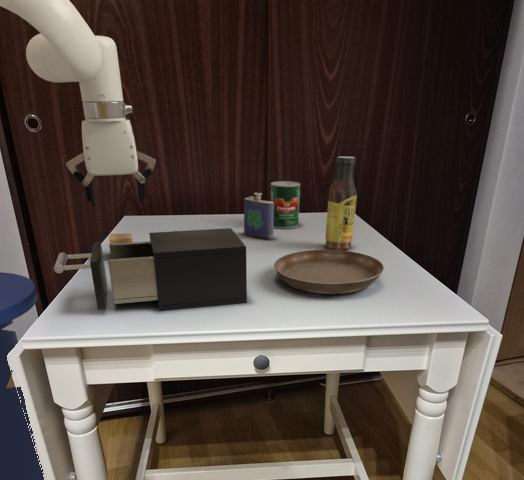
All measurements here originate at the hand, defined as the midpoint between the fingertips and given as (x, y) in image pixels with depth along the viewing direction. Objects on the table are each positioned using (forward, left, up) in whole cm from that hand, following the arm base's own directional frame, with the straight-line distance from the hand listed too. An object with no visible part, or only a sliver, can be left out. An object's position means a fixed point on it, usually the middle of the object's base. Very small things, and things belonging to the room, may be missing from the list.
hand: (117, 203), depth 101 cm
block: (0, 0, -11) cm, 11 cm away
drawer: (0, -26, -10) cm, 28 cm away
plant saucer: (+38, -25, -12) cm, 47 cm away
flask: (+33, +10, -12) cm, 36 cm away
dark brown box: (+13, -26, -11) cm, 31 cm away
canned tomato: (+43, +20, -12) cm, 48 cm away
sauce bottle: (+49, -4, -12) cm, 50 cm away
